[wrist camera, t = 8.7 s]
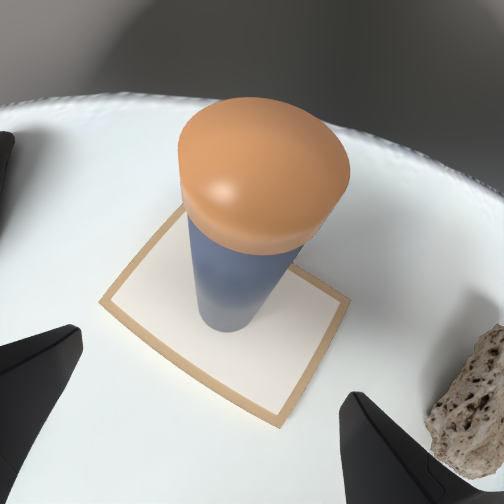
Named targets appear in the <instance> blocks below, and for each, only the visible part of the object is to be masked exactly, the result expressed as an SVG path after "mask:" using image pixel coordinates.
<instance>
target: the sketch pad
mask: <svg viewBox="0 0 504 504" xmlns="http://www.w3.org/2000/svg"><path fill="white" fill-rule="evenodd" d="M350 301H351V300H350V299H348V298H347V297H345V296H344V295H342V294H341V293H339V292H337V291H336V290H334V289H333V288H331V287H330V286H328V285H326V284H325V283H323V282H322V281H320V280H319V279H317V278H315V277H314V276H312V275H311V274H309V273H308V272H306V271H304V270H303V269H301V268H300V267H298V266H297V265H295V264H293V263H291V265H290V266H289V268H288V269H287V270H286V272H285V273H284V275H283V276H282V278H281V279H280V281H279V282H278V283H277V285H276V286H275V288H274V289H273V290H272V292H271V293H270V295H269V296H268V298H267V299H266V300H265V302H264V303H263V305H262V306H261V307H260V309H259V310H258V312H257V313H256V314H255V316H254V317H253V318H252V320H251V321H250V322H249V324H248V325H247V326H245V327H244V328H242V329H241V330H238V331H235V332H230V333H225V332H220V331H217V330H214V329H212V328H211V327H209V326H208V325H207V324H206V323H205V322H204V321H203V319H202V317H201V316H200V313H199V309H198V303H197V295H196V288H195V280H194V272H193V264H192V255H191V246H190V237H189V227H188V217H187V212H186V210H185V207H184V204H182V205H181V206H180V207H179V208H178V209H177V210H176V211H175V212H174V213H173V214H172V215H171V216H170V218H169V219H168V220H167V221H166V222H165V223H164V224H163V225H162V226H161V227H160V229H159V230H158V231H157V232H156V233H155V234H154V235H153V236H152V238H151V239H150V240H149V241H148V242H147V243H146V244H145V246H144V247H143V248H142V249H141V250H140V251H139V253H138V254H137V255H136V256H135V257H134V258H133V260H132V261H131V262H130V263H129V264H128V266H127V267H126V268H125V269H124V270H123V272H122V273H121V274H120V275H119V277H118V278H117V279H116V280H115V282H114V283H113V284H112V285H111V287H110V288H109V289H108V290H107V292H106V293H105V294H104V295H103V297H102V298H101V299H100V301H99V302H98V303H99V304H100V305H102V306H103V307H104V308H105V309H106V310H107V311H108V312H109V313H110V314H112V315H113V316H114V317H115V318H116V319H117V320H118V321H120V322H121V323H122V324H123V325H124V326H125V327H127V328H128V329H129V330H130V331H131V332H133V333H134V334H135V335H136V336H138V337H139V338H140V339H141V340H143V341H144V342H145V343H146V344H148V345H149V346H150V347H151V348H153V349H154V350H155V351H157V352H158V353H159V354H161V355H162V356H163V357H165V358H166V359H167V360H169V361H170V362H171V363H173V364H174V365H176V366H177V367H178V368H180V369H181V370H183V371H184V372H185V373H187V374H188V375H190V376H191V377H193V378H194V379H196V380H197V381H199V382H200V383H202V384H203V385H205V386H206V387H208V388H209V389H211V390H213V391H214V392H216V393H217V394H219V395H220V396H222V397H224V398H225V399H227V400H229V401H230V402H232V403H234V404H235V405H237V406H239V407H240V408H242V409H244V410H246V411H247V412H249V413H251V414H253V415H254V416H256V417H258V418H260V419H262V420H264V421H266V422H267V423H269V424H271V425H273V426H275V427H277V428H279V429H280V428H281V427H282V425H283V424H284V422H285V421H286V419H287V418H288V416H289V414H290V413H291V411H292V410H293V408H294V406H295V405H296V403H297V402H298V400H299V398H300V397H301V395H302V393H303V392H304V390H305V388H306V386H307V385H308V383H309V381H310V379H311V378H312V376H313V374H314V372H315V371H316V369H317V367H318V365H319V363H320V361H321V360H322V358H323V356H324V354H325V352H326V350H327V348H328V346H329V344H330V343H331V341H332V339H333V337H334V335H335V333H336V331H337V329H338V327H339V325H340V323H341V320H342V318H343V316H344V314H345V312H346V310H347V308H348V306H349V303H350Z"/></svg>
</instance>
